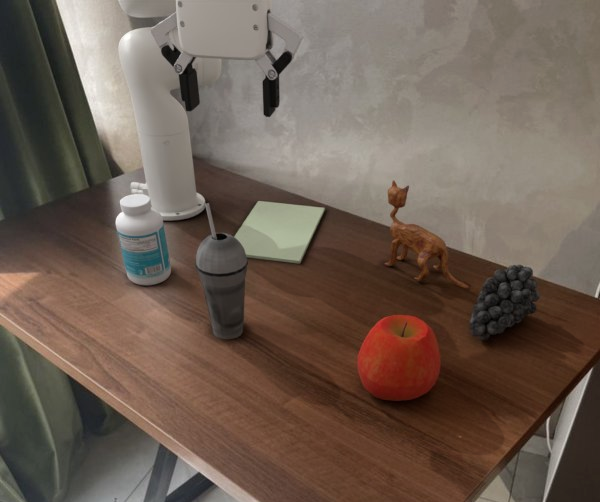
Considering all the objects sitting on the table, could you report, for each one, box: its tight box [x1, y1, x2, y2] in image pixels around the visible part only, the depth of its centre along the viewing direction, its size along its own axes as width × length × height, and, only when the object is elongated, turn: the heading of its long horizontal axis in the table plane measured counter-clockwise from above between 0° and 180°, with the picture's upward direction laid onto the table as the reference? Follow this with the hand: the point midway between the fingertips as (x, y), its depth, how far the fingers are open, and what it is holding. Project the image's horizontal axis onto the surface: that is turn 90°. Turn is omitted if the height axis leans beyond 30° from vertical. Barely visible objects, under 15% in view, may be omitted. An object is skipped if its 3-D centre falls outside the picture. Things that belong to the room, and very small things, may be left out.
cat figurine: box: [383, 179, 470, 290], centre depth 99 cm, size 18×7×14 cm, turn 46°
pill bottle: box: [115, 194, 172, 286], centre depth 98 cm, size 8×7×14 cm
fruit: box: [469, 264, 541, 341], centre depth 90 cm, size 9×8×15 cm
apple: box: [357, 314, 442, 402], centre depth 78 cm, size 11×11×11 cm
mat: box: [233, 200, 326, 265], centre depth 115 cm, size 14×22×1 cm, turn 167°
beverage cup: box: [195, 202, 249, 340], centre depth 84 cm, size 7×7×20 cm
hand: (231, 110), depth 72 cm, fingers open, 9 cm apart
